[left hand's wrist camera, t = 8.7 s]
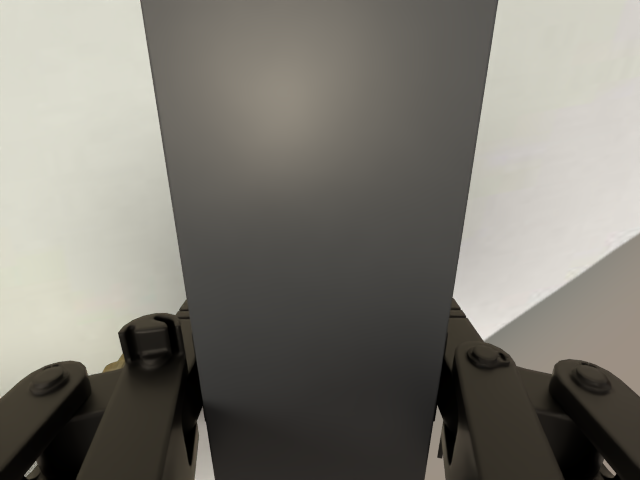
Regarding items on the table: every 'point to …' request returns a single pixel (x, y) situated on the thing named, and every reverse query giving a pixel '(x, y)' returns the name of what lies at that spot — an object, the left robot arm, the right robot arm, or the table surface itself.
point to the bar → (319, 219)
